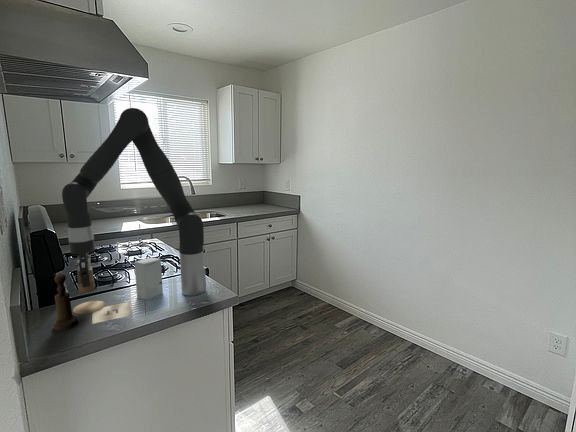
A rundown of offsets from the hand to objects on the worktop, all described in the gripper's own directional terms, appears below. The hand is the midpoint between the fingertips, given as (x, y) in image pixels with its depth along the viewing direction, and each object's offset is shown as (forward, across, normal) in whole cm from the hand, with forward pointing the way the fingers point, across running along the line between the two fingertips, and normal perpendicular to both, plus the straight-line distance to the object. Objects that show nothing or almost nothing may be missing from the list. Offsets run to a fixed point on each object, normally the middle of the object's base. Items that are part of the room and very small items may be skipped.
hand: (86, 284), depth 117 cm
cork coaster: (+9, 0, 0) cm, 9 cm away
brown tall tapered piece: (+10, -11, +6) cm, 16 cm away
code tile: (+9, -8, -7) cm, 14 cm away
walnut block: (+2, 0, 0) cm, 2 cm away
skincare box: (+10, +1, -21) cm, 23 cm away
